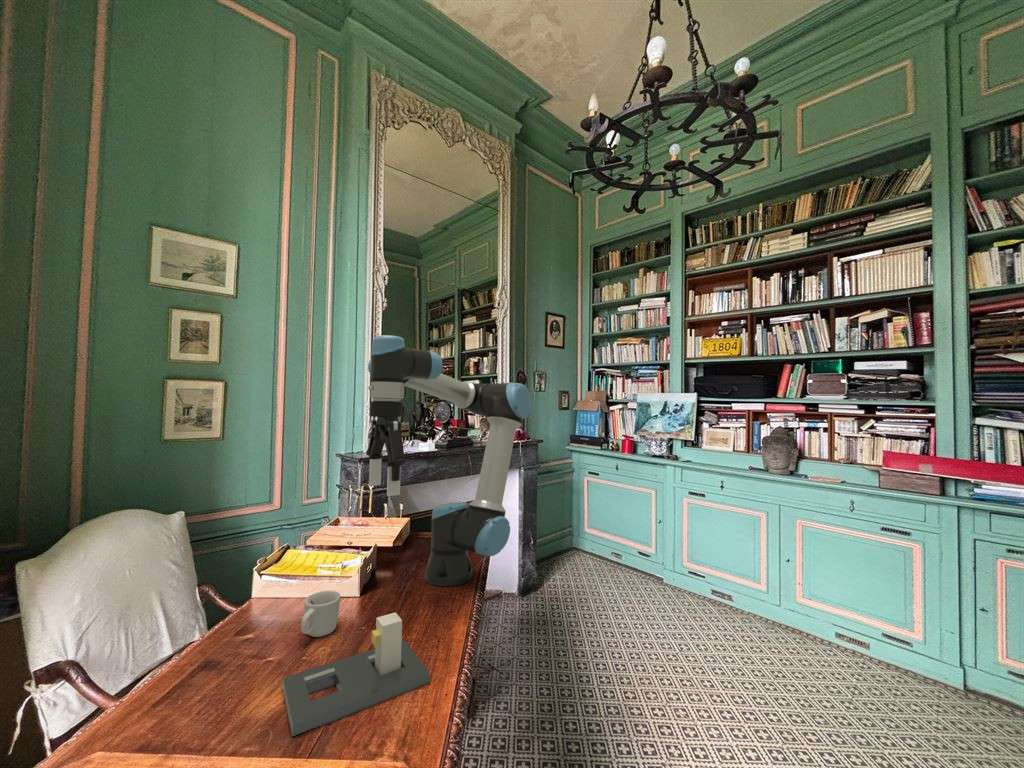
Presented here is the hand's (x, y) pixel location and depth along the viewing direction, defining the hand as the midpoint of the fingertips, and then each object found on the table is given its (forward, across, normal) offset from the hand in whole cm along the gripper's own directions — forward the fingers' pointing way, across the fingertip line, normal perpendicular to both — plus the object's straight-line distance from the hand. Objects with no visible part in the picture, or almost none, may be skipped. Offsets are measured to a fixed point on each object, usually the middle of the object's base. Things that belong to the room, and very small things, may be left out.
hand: (383, 490), depth 97 cm
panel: (+35, +13, -8) cm, 38 cm away
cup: (+35, -11, -11) cm, 38 cm away
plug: (+35, +13, -2) cm, 37 cm away
